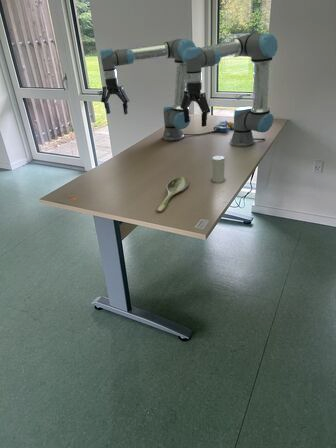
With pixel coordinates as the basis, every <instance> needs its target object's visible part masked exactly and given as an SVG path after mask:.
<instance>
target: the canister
mask: <svg viewBox="0 0 336 448" xmlns="http://www.w3.org/2000/svg"><path fill="white" fill-rule="evenodd" d="M211 169H212V170H211V174H212V177H211V178H212V179H211V180H212V182H214V183H217V184H218V183H219V184H220V183H224V182H225V156H223V155H214V156H212V158H211Z"/></svg>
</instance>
